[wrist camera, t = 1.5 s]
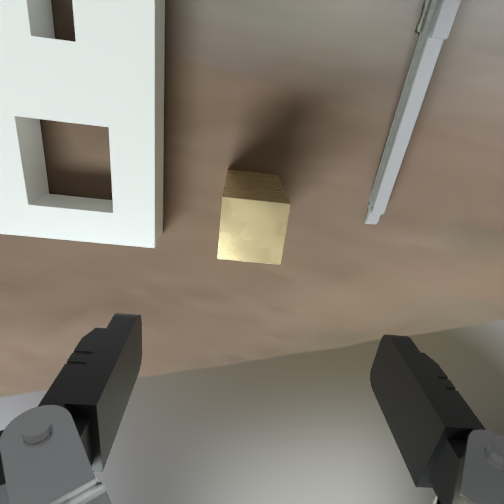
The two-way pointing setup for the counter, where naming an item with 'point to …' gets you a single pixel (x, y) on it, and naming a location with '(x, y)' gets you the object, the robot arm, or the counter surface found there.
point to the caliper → (411, 98)
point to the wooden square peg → (253, 217)
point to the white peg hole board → (83, 116)
